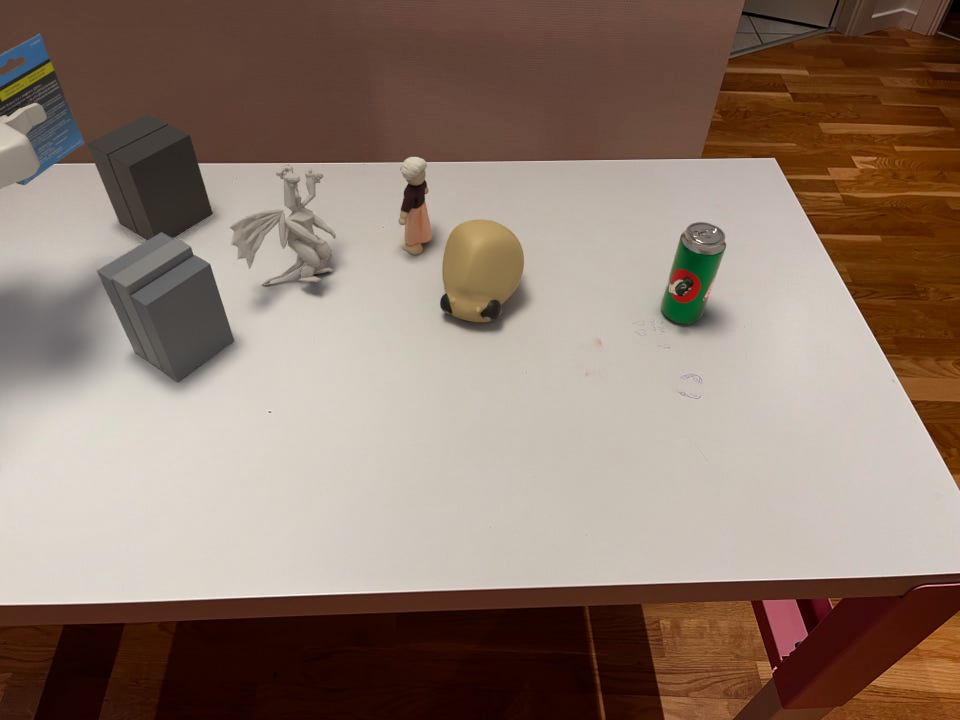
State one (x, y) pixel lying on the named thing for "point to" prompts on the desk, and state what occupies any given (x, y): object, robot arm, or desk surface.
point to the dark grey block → (151, 177)
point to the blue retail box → (39, 102)
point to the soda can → (693, 272)
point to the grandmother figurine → (415, 206)
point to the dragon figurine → (288, 229)
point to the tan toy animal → (480, 270)
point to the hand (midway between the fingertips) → (23, 99)
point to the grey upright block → (168, 305)
